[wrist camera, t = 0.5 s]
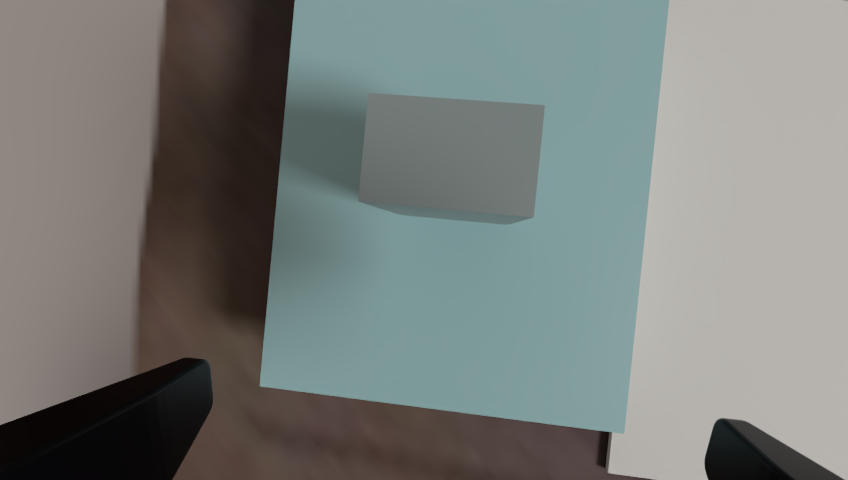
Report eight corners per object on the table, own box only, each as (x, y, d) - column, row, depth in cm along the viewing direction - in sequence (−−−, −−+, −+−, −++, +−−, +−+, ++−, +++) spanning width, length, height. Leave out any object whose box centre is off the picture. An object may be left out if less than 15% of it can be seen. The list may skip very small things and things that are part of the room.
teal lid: (604, 408, 20) (730, 568, 10) (284, 368, 21) (132, 477, 11) (646, 3, 19) (815, -219, 10) (319, -13, 21) (193, -224, 11)
